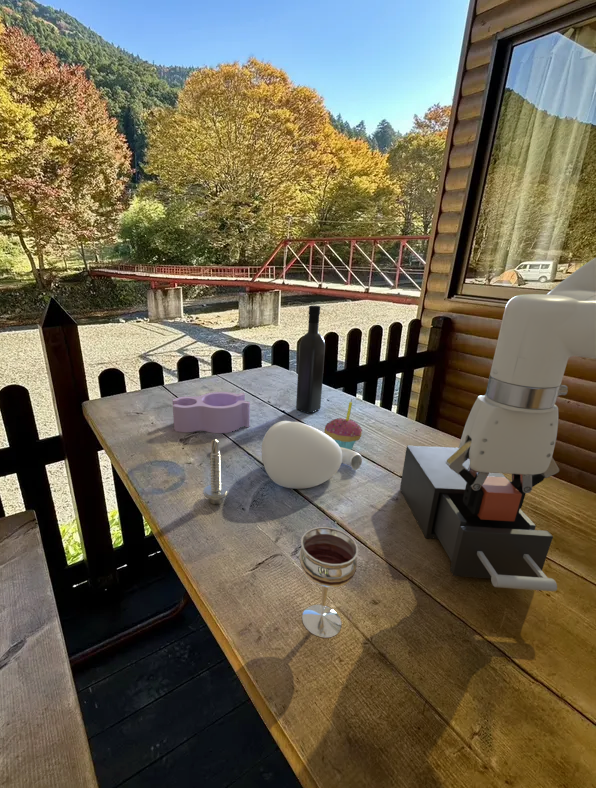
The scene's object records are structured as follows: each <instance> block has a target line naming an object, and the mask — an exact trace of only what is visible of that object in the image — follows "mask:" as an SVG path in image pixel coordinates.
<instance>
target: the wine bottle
mask: <svg viewBox="0 0 596 788" xmlns="http://www.w3.org/2000/svg"><path fill="white" fill-rule="evenodd" d="M320 315H321V305H309V306H308V326H307V327H308V328H307V332H306V333H305V334H304V335H303V336H302V337H301V339H300V342H299V345H298V363H297V380H296V381H297V384H296V398H295V399H296V401H295V409H296V410H297V409H299V410H298V411H300V410H302V411H301V412H303V411H305V412H304V413H306V412H313V411H315V410H318V409H320V410H321V406H322V405H321V403H322V393H323V392H322V391H323V382H324V381H323V379H324V367H325V353H326V343H325V339H324V337H323V336H322V334H320V333H319V324H320ZM318 411H319V410H318ZM315 412H316V411H315ZM313 413H314V412H313Z"/></svg>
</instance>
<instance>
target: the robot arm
mask: <svg viewBox="0 0 596 788" xmlns="http://www.w3.org/2000/svg"><path fill="white" fill-rule="evenodd" d="M571 357H576V358H577V357H578V358H584V359H585V358H586V359H593V360H596V257H594V258H593V259H591V260H589V261H588V262H586V263H585V264H583V265H582V266H580V267H579V268H577V269H576V270H575V271H573V272H572V273H570V275H568V276H567V277H566V278H564V279H563V280H561V281H560V282H559V283H558V284H557V285H556V286H554V287H553V288H551V290H550V291H549V292H547V294H546V293H545V294H544V293H543V294H541V293H530V294H529V293H528V294H527V293H526V294H518V295H516V296H514V297H512V298H511V299H509V300H508V302H507V303H506V305H505V308H504V312H503V315H502V320H501V325H500V328H499V333H498V338H497V341H496V346H495V351H494V355H493V359H492V365H491V368H490V372H489V377H488V381H487V385H486V390H485V394H484V395H478V396H477V398H476V399H475V402H474V403H473V405H472V407H471V409H470V413H469V414H468V417H467V419H466V421H465V425H464V428H463V431H462V434H461V436H460V437H461V438H460V440H459V444H458V448H459V450H457V451H456V452H455V453H454V454H453V455H452V456H451V457H450V458H448V459H447V460H446V464H447V465H448V466H449V467H450V468H451V469H452V470H453V471H454V472H456V473H457V474H459V475H460V476H461V477H462V478H463V479H464V480H465V481H466V482H467V483H466V488H465V492H464V496H463V502H464V504H465V505H466V506H467V507H468V509H469V510H470V511H471V513H472V514H473V515H478V514H479V510H480V506H481V502H482V498H483V494H484V492H483V490H482V489H481V487H482V485H483V483H484V482H485V480H486V478H487V476H488V474H489V473H502V474H505V475H507V474H509V475H511V481H510V483H511V484H512V485H513V486H514V487H515V488H516V489H517V490H518V491H519V492H520V493H521V494H522V496H521V500H520V503H519V507H518V510H517V514H516V517H518V514H519V510H520V509H522V508H523V504H524V501H525V498H526V494H530V493H531V492H532V491H533V488H534V487H536V486H537V485H538V484H540V483H542V482H543V481H544V480H545V479H547V478H550V477H552V476H554V475H556V474H558V473H559V472H560V467H558V465H557V463H556V461H555V459H554V457H553V456H554V450H555V447H556V442H557V437H558V428H559V407H558V406H557V404H556V403H557V400H558V398H559V396H566V395H567V394H568V392H569V388H568V386H567V385H566V384H562V381H563V378H564V374H565V372H566V367H567V364H568V361H569V358H571ZM467 459H469V460H470V465H469V467H468V469H466V468H465V467H464V466H463V465H462V464H463V463H464V462H465V461H466V460H467Z"/></svg>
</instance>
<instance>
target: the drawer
mask: <svg viewBox="0 0 596 788" xmlns="http://www.w3.org/2000/svg"><path fill="white" fill-rule="evenodd" d="M463 496H464V494H457V493H439V498H438V502H437V507H436V512H435V517H434V522H433V527H432V528H433V530H434V532H435V533H436V535H437V537H438V539H437V540H438V541H439V542H440V544H441V546H442V548H443V549H444V551H445V553H446V555H447V557H448V558H449V560H450V562H451V564H450V568H449V571H450V573H451V575H452V576H453V577H464V578H477V579H478V578H479V579H490V581H491V584H492V586H493V587H494V588H500V589H501V588H502V589H515V590H516V589H517V590H530V591H541V592H542V591H543V592H556V591H557V590H558V584H557V582H556V580H555V579H554V578H553V577H552V578H551V577H548V576H547V574H545V573H544V571H543V569H544V565H545V563H546V560H547V557H548V554H549V551H550V547H551V546H552V545H551V544H552V541H553V538H554V536H553V535H552V534H551V533H550V531H548V530H538V529H537V530H536V527H537V525H536V524H535V523H534V522H533V521H532V520H531V518H530V517H529V516H528V515H527V514H526V513H525V512H524V511H523V510H522V508H520V510H519V514H518V517H515V521H498V520H481V519H480V518H479V517H478V515H473V514H472V513H471V511H470V510H469V509H468V507H467V506H466V505H465V504H464V502H463Z"/></svg>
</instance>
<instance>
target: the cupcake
mask: <svg viewBox="0 0 596 788" xmlns="http://www.w3.org/2000/svg"><path fill="white" fill-rule="evenodd" d="M352 406H353V398H351V399H350V401H349V402H348V407H347V413H346V417H345V418H343V417H338V418H334V419H332V420H330V421H328V422H327V423H326V425H325V427H324V432H323V433H325V434H326V435H328V436H329V437H331V438H332V439H333V440H334V441H335V442H336V443H337V444H338V445H339V447H342V448H346V449H350V450H353V446H354V445H355V443H356V442H357V441H360V439H361V437H362V432H363V429H362V427H361V425H360V424H359V423H358V422H356V421H354V420H352V419H350V416H351V412H352Z"/></svg>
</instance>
